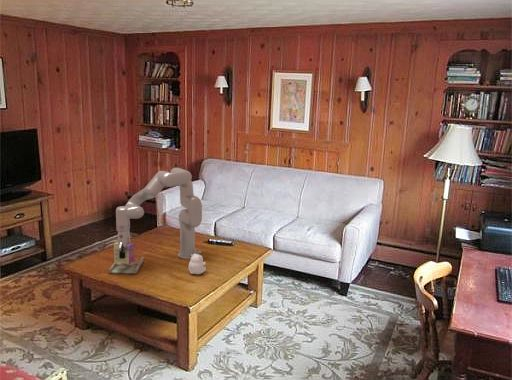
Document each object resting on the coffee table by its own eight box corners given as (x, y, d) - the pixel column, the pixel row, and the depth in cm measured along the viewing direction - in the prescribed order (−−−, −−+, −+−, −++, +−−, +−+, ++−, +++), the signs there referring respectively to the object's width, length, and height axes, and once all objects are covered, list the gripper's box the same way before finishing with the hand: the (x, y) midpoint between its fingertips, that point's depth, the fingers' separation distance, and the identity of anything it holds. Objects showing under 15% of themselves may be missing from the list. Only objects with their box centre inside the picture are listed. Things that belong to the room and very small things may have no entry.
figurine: (197, 278, 251) (197, 259, 249) (184, 274, 256) (184, 255, 254) (207, 272, 260) (208, 253, 257) (195, 268, 265) (195, 250, 262)
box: (134, 261, 257) (134, 242, 254) (129, 264, 252) (128, 245, 249) (119, 258, 260) (119, 240, 257) (114, 262, 255) (113, 243, 252)
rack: (144, 261, 272) (143, 257, 272) (136, 274, 253) (136, 270, 252) (118, 260, 272) (118, 256, 271) (108, 274, 252) (108, 269, 252)
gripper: (125, 232, 243) (126, 261, 247) (133, 223, 260) (134, 250, 264) (112, 231, 242) (113, 261, 246) (120, 222, 259) (121, 250, 263)
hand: (124, 255), depth 255 cm, fingers closed on box, 7 cm apart
